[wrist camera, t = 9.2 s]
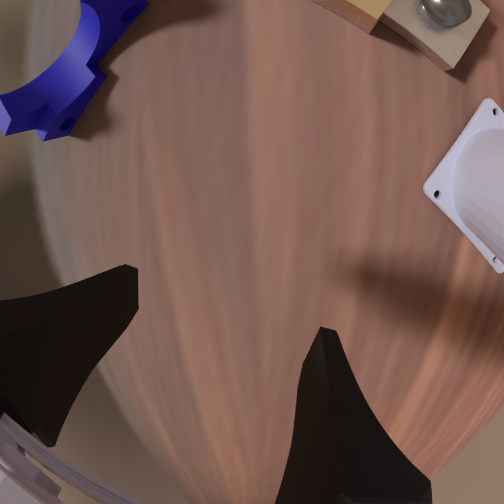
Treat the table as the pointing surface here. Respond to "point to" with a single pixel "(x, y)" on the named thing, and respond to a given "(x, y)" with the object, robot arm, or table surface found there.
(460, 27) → the square frame connector
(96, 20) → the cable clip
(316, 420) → the robot arm
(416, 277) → the table surface
